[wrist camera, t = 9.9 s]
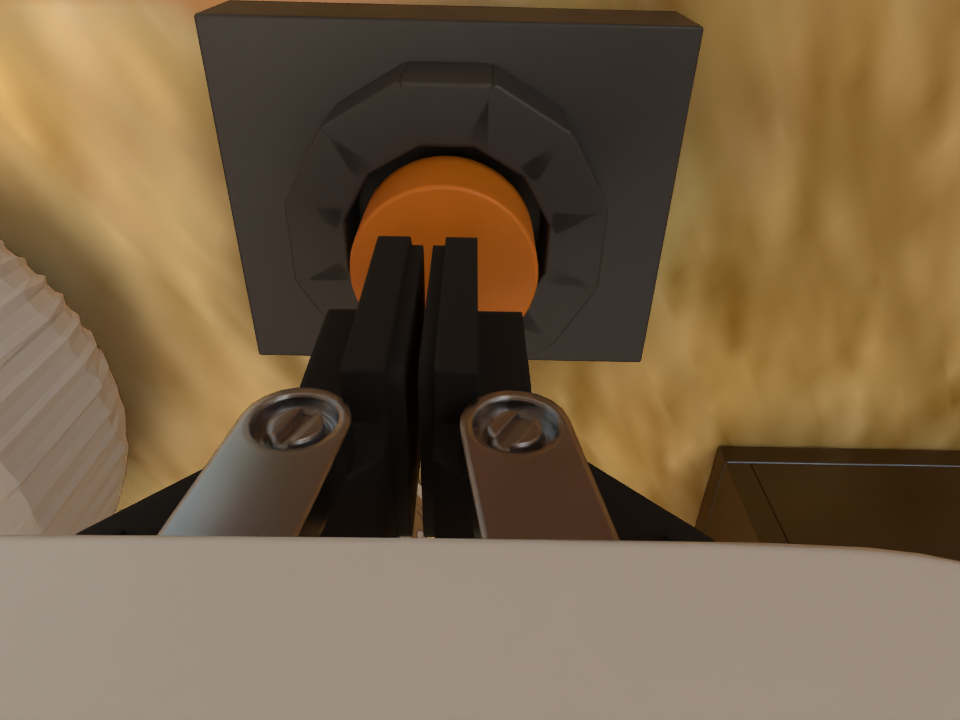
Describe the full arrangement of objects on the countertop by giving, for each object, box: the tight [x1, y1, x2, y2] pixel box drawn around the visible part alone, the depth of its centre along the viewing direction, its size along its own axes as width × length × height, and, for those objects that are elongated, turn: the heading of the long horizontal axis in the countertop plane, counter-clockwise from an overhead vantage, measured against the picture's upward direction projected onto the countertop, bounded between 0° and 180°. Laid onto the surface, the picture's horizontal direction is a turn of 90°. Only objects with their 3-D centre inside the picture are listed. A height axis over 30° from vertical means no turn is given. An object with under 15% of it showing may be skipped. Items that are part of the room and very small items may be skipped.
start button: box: [350, 156, 538, 317], centre depth 14 cm, size 4×4×2 cm
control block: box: [194, 0, 703, 362], centre depth 16 cm, size 10×8×4 cm
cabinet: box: [696, 447, 960, 561], centre depth 22 cm, size 15×13×10 cm
